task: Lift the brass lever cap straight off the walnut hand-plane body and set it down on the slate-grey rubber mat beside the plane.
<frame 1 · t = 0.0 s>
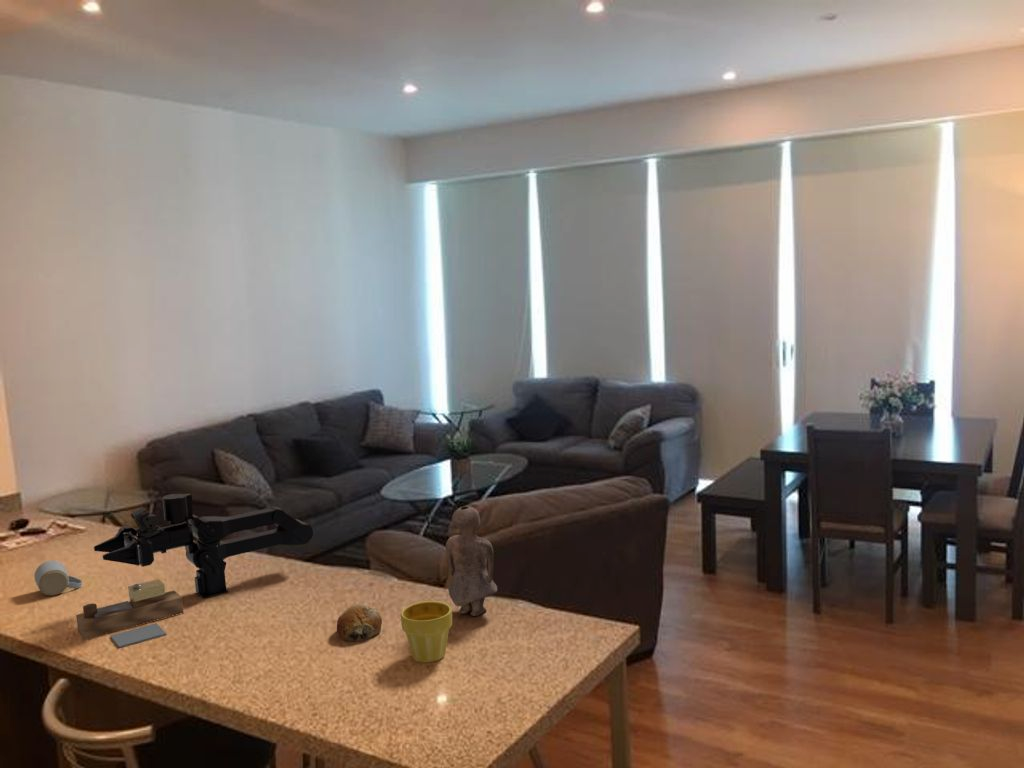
hand: (98, 553, 203), 17 cm above the kitchen counter, tool horizontal, fingers open, 9 cm apart
lever cap: (147, 595, 204), point 5 cm above the kitchen counter, touching plane body
clay figurine: (472, 613, 198), on the kitchen counter
plane body: (131, 622, 203), on the kitchen counter
mat: (138, 636, 194), on the kitchen counter
plant pot: (429, 656, 176), on the kitchen counter
bread roll: (359, 634, 190), on the kitchen counter
ceramic mug: (59, 591, 227), on the kitchen counter
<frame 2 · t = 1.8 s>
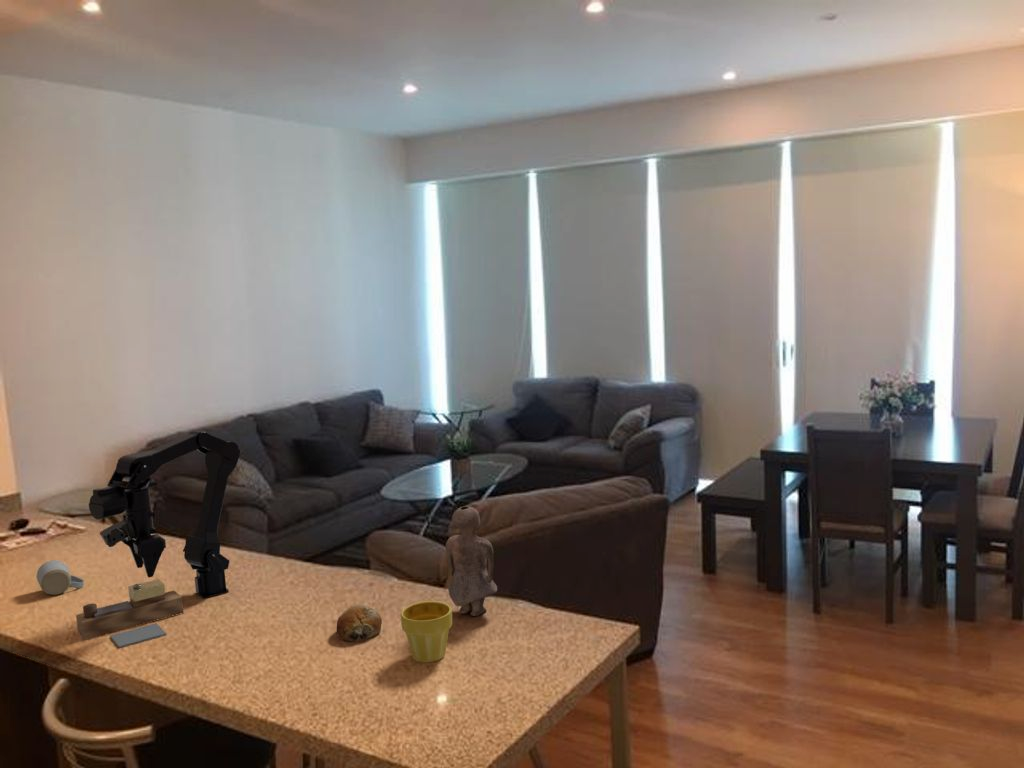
hand: (145, 572, 204), 11 cm above the kitchen counter, tool pointing down, fingers open, 9 cm apart
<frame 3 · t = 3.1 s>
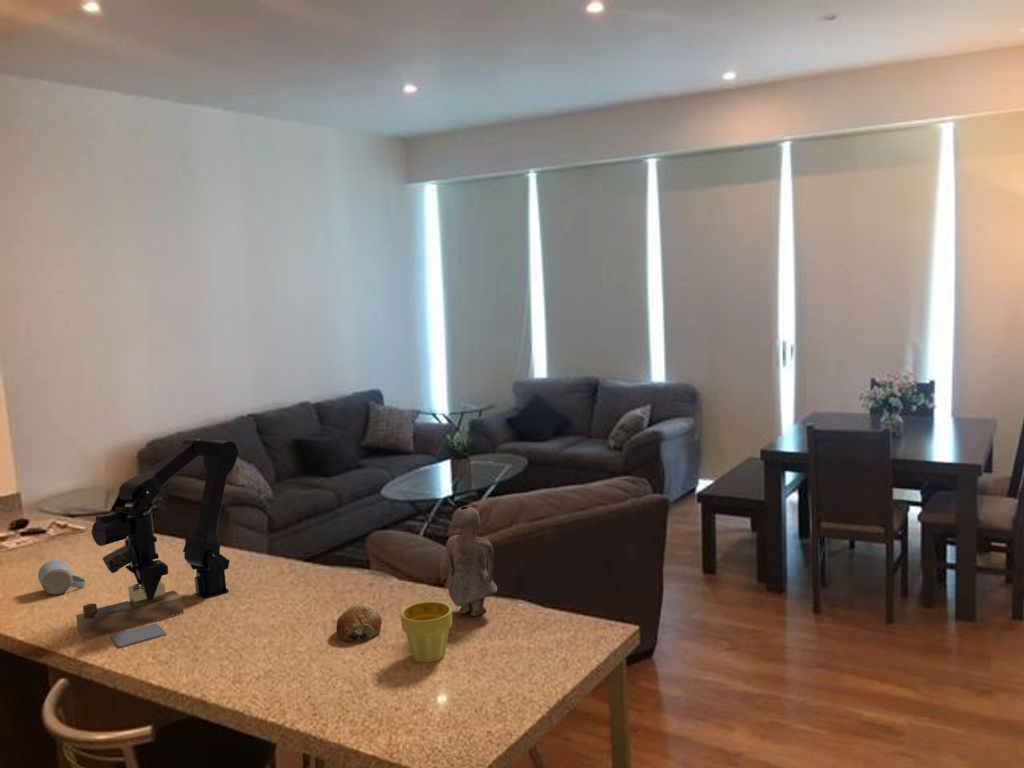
hand: (147, 597, 204), 5 cm above the kitchen counter, tool pointing down, fingers closed on lever cap, 5 cm apart
lever cap: (147, 595, 204), point 5 cm above the kitchen counter, touching gripper, plane body
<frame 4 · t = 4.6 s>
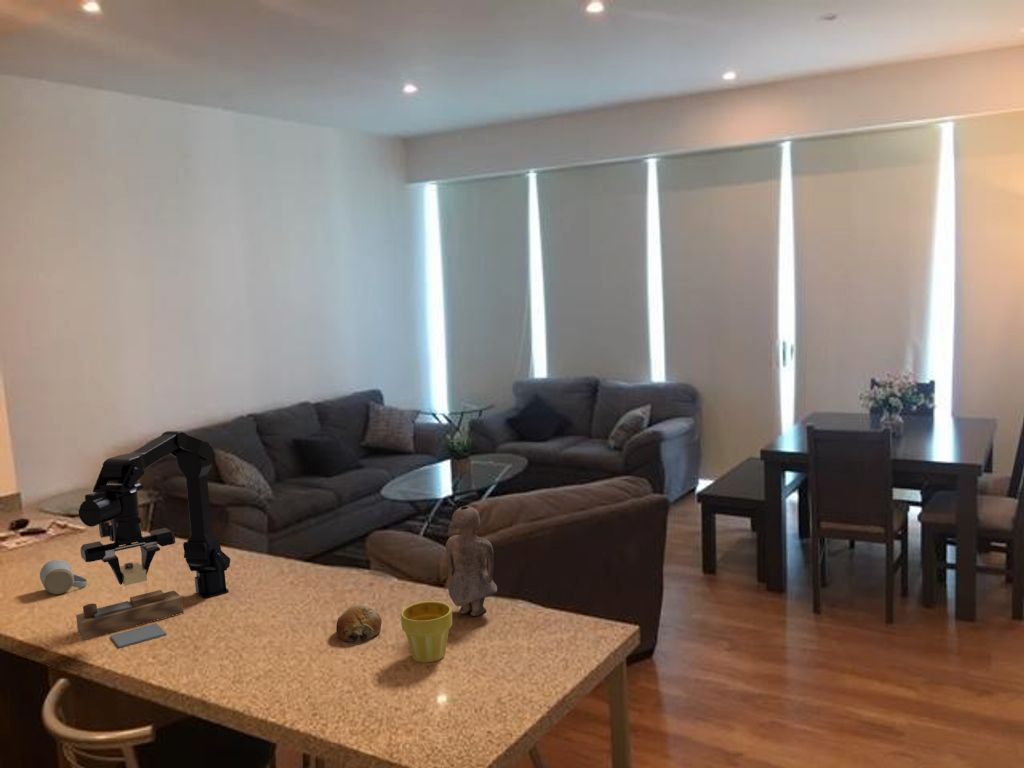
hand: (132, 581, 193), 13 cm above the kitchen counter, tool pointing down, fingers closed on lever cap, 5 cm apart
lever cap: (132, 579, 193), point 13 cm above the kitchen counter, touching gripper
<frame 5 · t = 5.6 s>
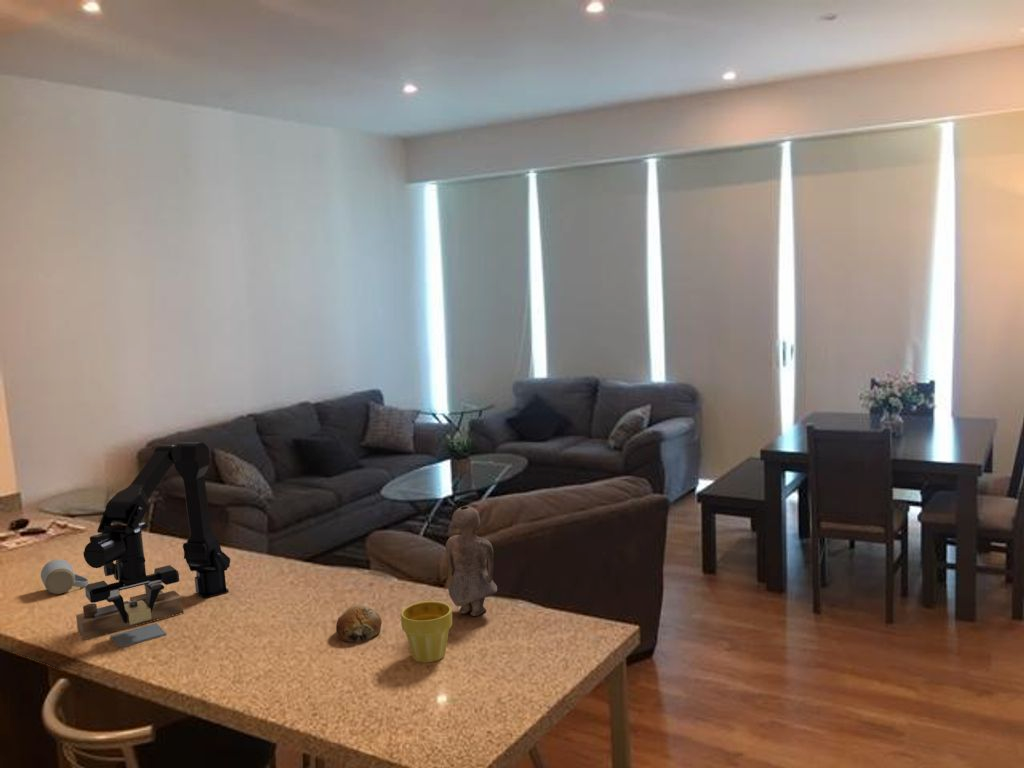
hand: (137, 619, 194), 4 cm above the kitchen counter, tool pointing down, fingers closed on lever cap, 5 cm apart
lever cap: (136, 617, 194), point 4 cm above the kitchen counter, touching gripper
when the fingers open (1 cm above the kitchen counter, at t = 6.3 s): lever cap drops 1 cm, resting on mat.
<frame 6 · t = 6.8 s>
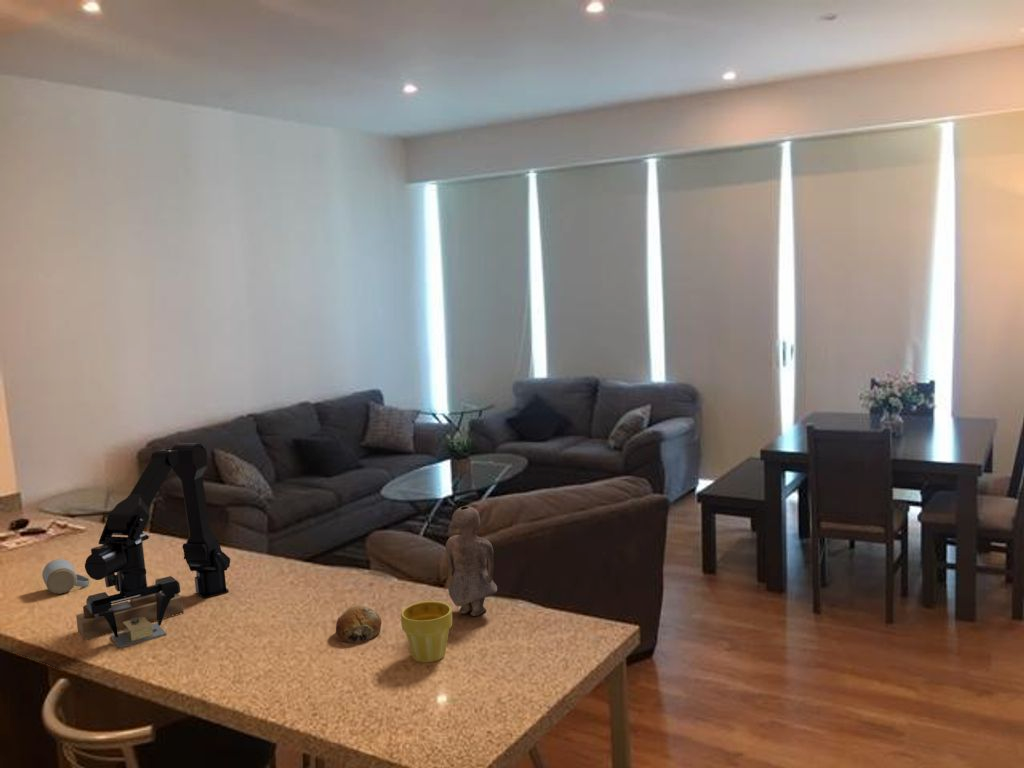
hand: (138, 630, 194), 1 cm above the kitchen counter, tool pointing down, fingers open, 9 cm apart
lever cap: (138, 634, 194), resting on mat
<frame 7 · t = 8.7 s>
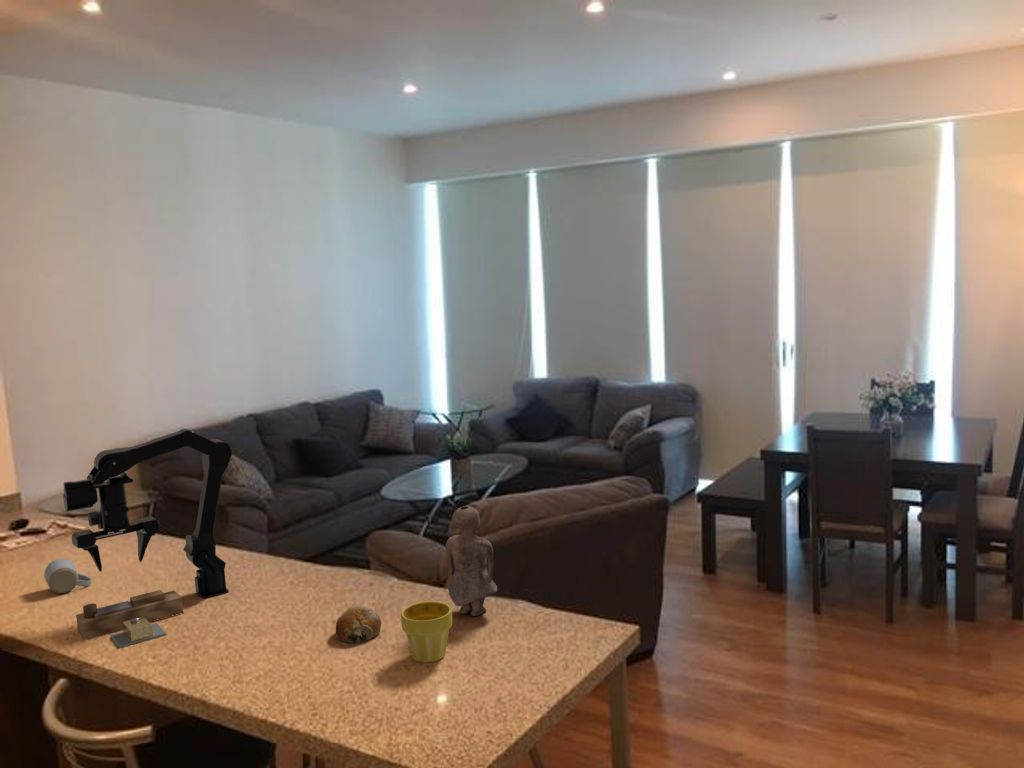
hand: (120, 566, 207), 12 cm above the kitchen counter, tool pointing down, fingers open, 9 cm apart
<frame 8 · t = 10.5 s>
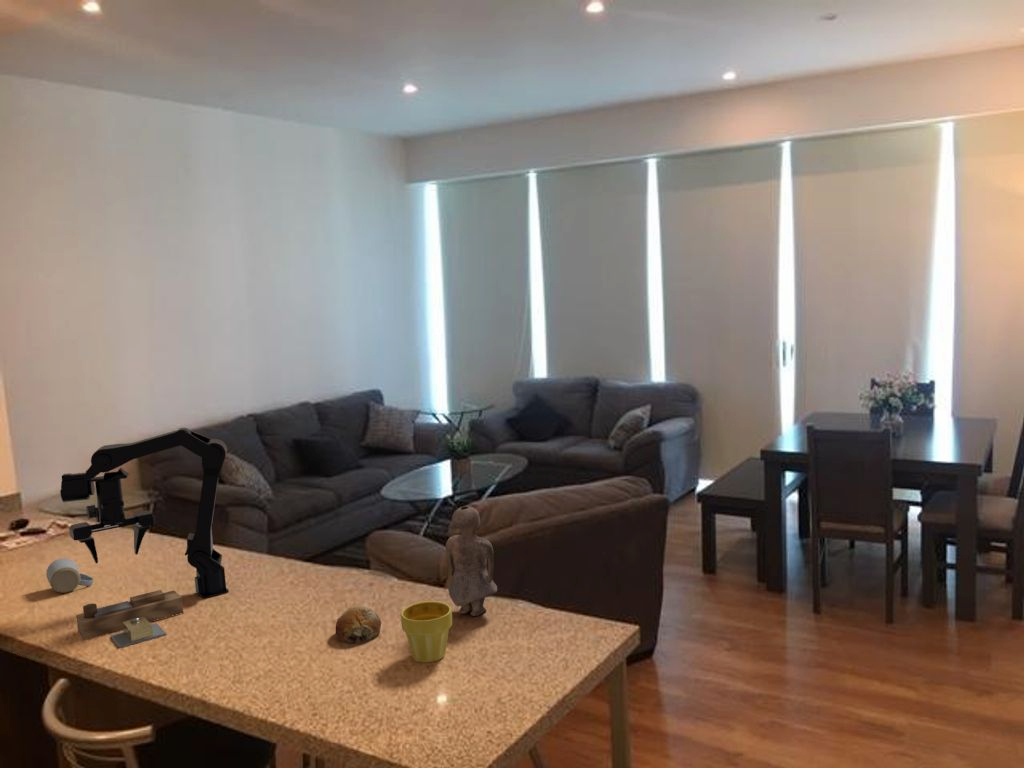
hand: (116, 558, 213), 12 cm above the kitchen counter, tool pointing down, fingers open, 9 cm apart
at the end: lever cap inside the target area on the mat (0.1 cm from its centre), point 0.4 cm above the mat's base; lever cap touching mat; the gripper is holding nothing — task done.
